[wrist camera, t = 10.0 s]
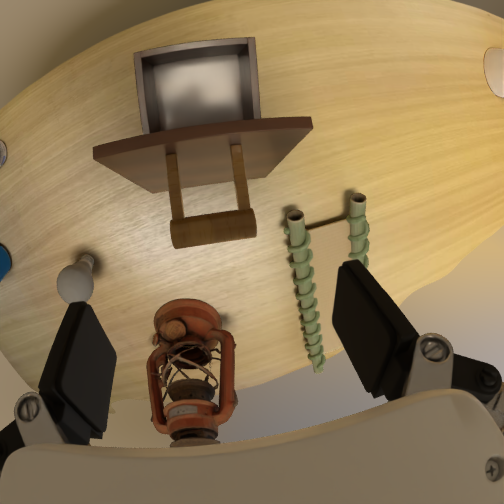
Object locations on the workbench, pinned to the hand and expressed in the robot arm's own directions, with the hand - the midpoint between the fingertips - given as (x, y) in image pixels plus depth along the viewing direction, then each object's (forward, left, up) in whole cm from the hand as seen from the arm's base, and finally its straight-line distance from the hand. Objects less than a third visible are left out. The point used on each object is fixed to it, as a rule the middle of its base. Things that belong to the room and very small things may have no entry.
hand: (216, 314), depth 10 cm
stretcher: (+29, +20, -32) cm, 48 cm away
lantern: (+31, -8, -32) cm, 46 cm away
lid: (-2, 0, -16) cm, 16 cm away
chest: (-6, 0, -32) cm, 33 cm away
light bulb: (+14, -22, -32) cm, 41 cm away
